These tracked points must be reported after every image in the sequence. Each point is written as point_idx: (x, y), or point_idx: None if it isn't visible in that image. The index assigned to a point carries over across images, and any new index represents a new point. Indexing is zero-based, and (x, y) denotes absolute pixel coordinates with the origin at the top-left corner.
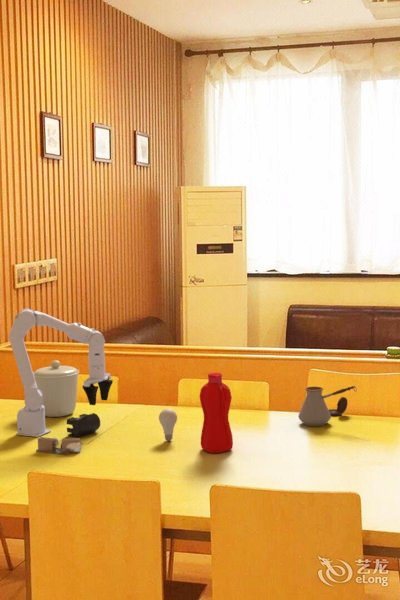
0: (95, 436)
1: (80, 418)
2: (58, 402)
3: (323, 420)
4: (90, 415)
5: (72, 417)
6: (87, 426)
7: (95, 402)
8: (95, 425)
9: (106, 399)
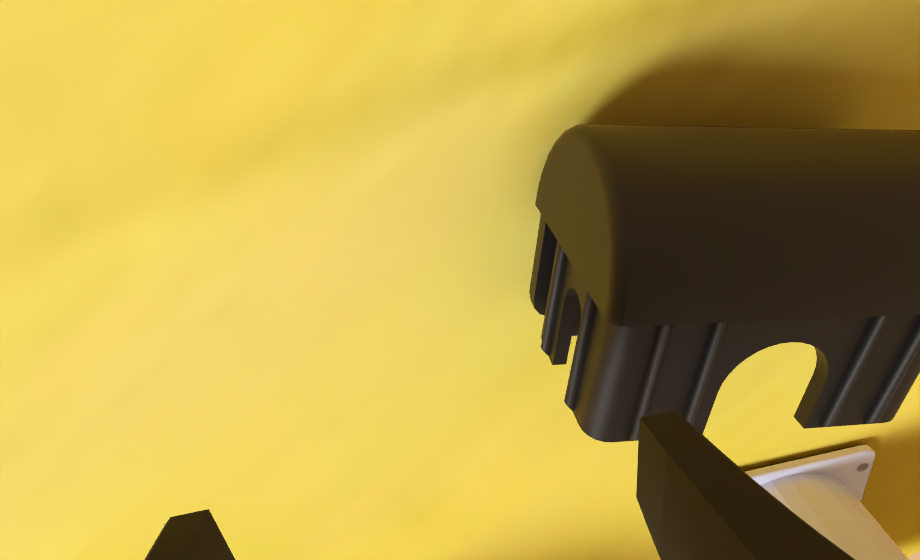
0: (719, 23)
1: None
2: None
3: None
4: (743, 278)
5: (838, 415)
6: (851, 136)
7: (683, 445)
8: (685, 128)
9: (198, 526)
